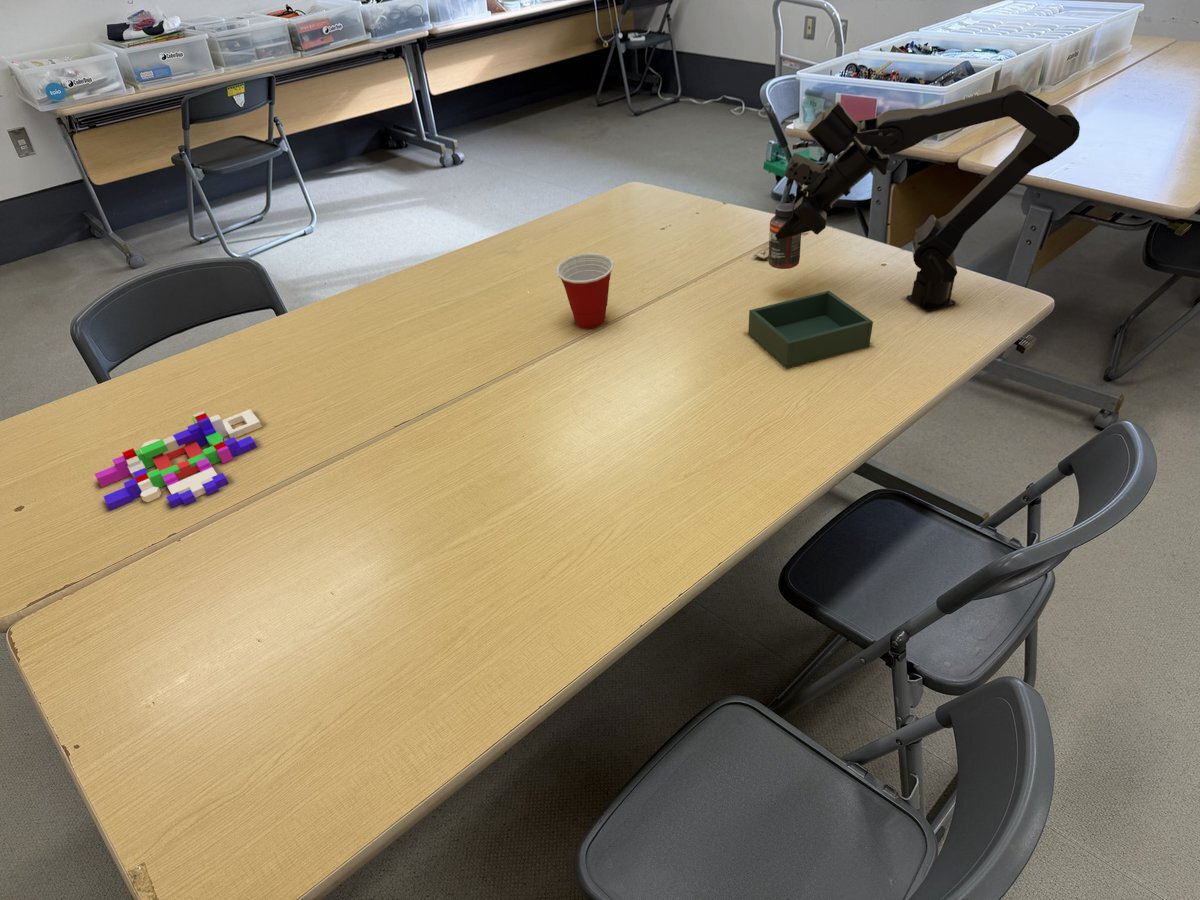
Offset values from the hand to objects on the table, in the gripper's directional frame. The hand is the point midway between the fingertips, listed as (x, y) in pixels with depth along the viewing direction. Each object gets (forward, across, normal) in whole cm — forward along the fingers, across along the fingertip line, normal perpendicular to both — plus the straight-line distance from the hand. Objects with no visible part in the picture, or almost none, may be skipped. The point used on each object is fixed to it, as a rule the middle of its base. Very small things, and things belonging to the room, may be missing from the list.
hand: (778, 230), depth 149 cm
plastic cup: (+33, +16, -15) cm, 40 cm away
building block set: (+69, +70, -51) cm, 111 cm away
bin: (+4, +18, +15) cm, 23 cm away
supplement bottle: (+4, 0, +6) cm, 7 cm away
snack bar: (+12, -20, +7) cm, 24 cm away
